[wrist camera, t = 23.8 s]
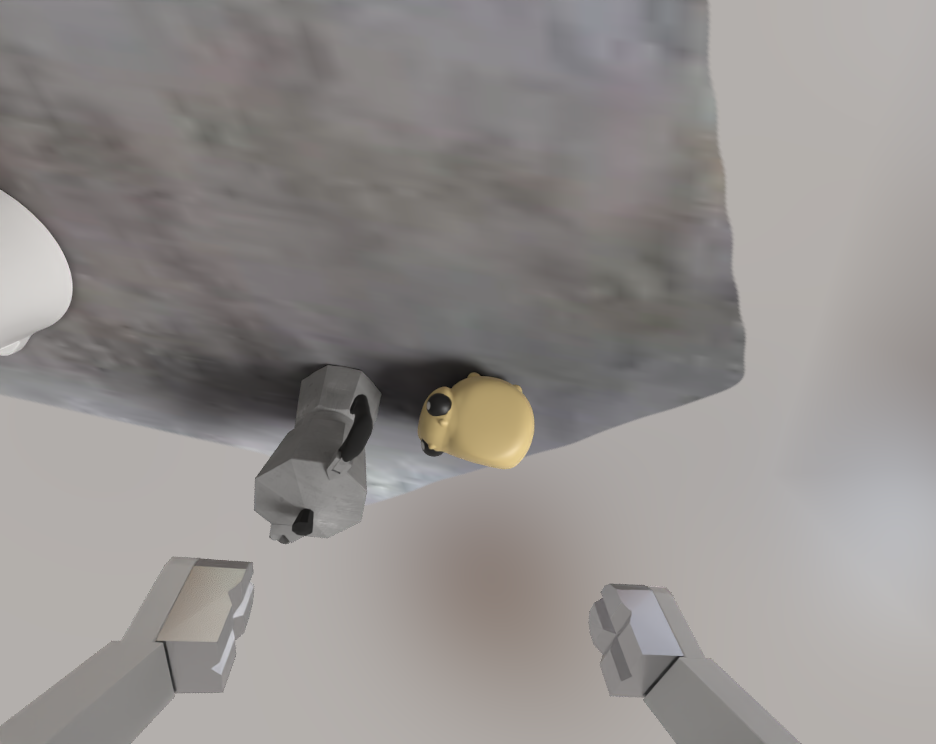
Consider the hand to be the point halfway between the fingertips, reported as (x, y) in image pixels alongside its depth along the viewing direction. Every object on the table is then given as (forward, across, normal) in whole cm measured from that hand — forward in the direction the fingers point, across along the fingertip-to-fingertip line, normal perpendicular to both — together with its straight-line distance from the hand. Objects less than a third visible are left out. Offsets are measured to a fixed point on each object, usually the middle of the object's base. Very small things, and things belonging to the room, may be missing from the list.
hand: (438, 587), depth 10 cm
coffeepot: (+35, +6, +19) cm, 41 cm away
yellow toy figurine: (+35, -8, +17) cm, 40 cm away
